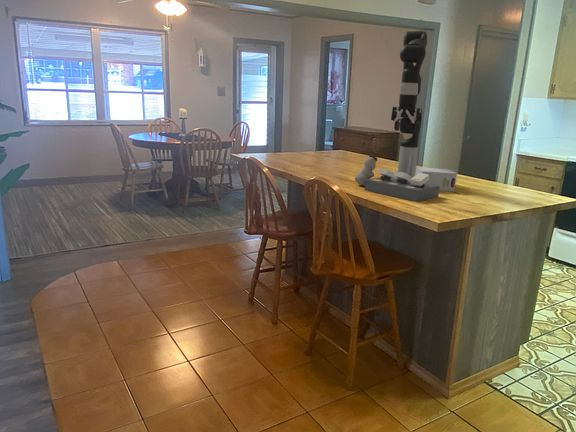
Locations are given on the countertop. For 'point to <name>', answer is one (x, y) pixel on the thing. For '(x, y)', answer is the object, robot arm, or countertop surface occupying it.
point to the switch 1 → (385, 172)
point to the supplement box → (440, 177)
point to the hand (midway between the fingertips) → (404, 131)
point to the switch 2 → (402, 175)
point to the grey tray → (401, 188)
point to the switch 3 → (419, 179)
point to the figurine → (366, 170)
